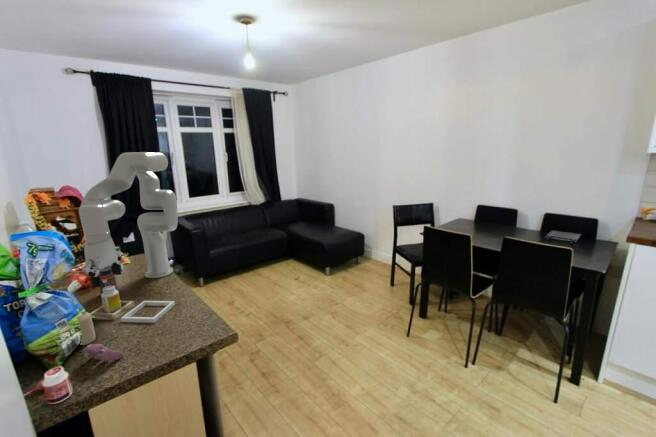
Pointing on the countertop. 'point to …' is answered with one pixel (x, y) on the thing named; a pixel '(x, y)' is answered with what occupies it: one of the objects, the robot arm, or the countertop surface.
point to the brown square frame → (113, 316)
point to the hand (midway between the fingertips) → (107, 280)
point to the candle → (86, 328)
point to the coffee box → (120, 261)
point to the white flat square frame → (128, 317)
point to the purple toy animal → (102, 352)
